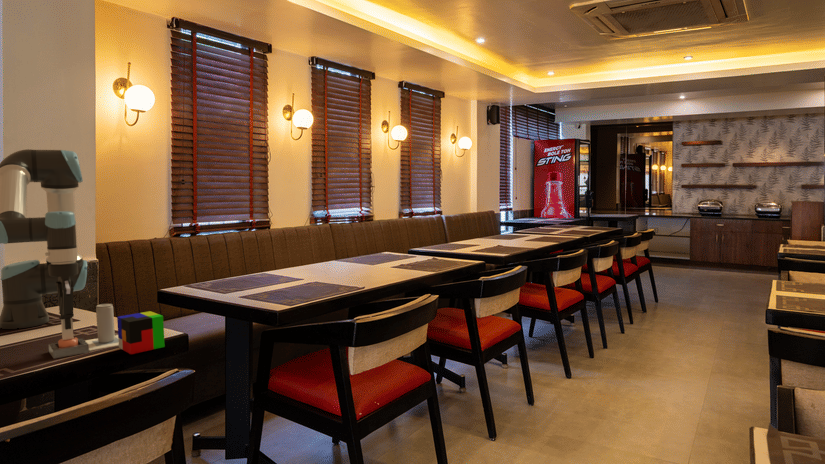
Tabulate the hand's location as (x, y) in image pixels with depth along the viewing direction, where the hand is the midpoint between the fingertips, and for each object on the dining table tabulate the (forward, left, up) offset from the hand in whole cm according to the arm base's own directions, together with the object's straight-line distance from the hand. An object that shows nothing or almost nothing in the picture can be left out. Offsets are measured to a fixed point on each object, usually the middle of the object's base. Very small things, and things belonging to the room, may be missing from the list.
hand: (68, 338), depth 163 cm
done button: (0, 0, -4) cm, 4 cm away
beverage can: (-4, +11, -4) cm, 12 cm away
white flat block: (-4, +11, -4) cm, 12 cm away
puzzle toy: (+10, +18, -5) cm, 21 cm away
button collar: (0, 0, -4) cm, 4 cm away
